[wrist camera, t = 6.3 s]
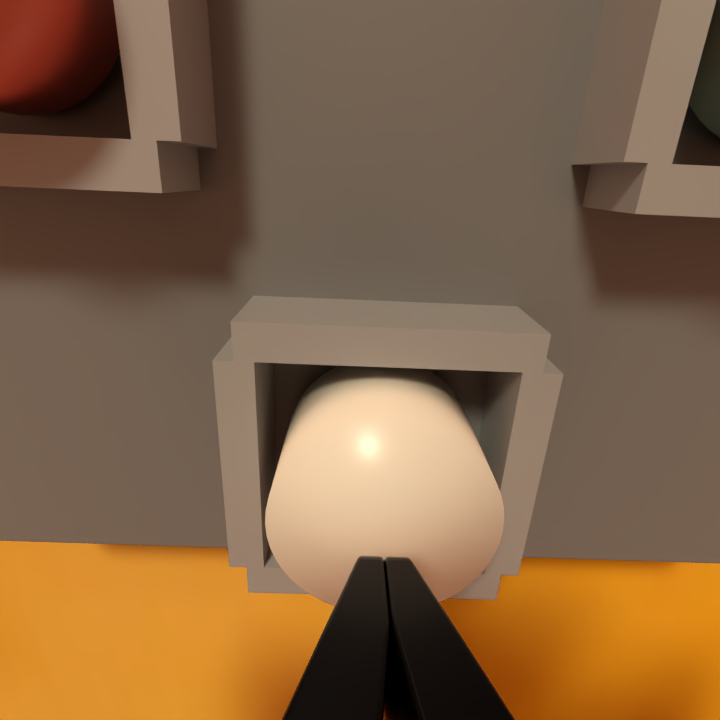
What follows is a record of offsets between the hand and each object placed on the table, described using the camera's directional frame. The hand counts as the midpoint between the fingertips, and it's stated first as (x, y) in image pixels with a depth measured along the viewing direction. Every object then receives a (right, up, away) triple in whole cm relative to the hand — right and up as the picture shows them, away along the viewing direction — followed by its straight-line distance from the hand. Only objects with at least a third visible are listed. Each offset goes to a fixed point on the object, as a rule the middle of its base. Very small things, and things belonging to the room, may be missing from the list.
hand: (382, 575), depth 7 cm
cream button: (0, +2, +4) cm, 4 cm away
